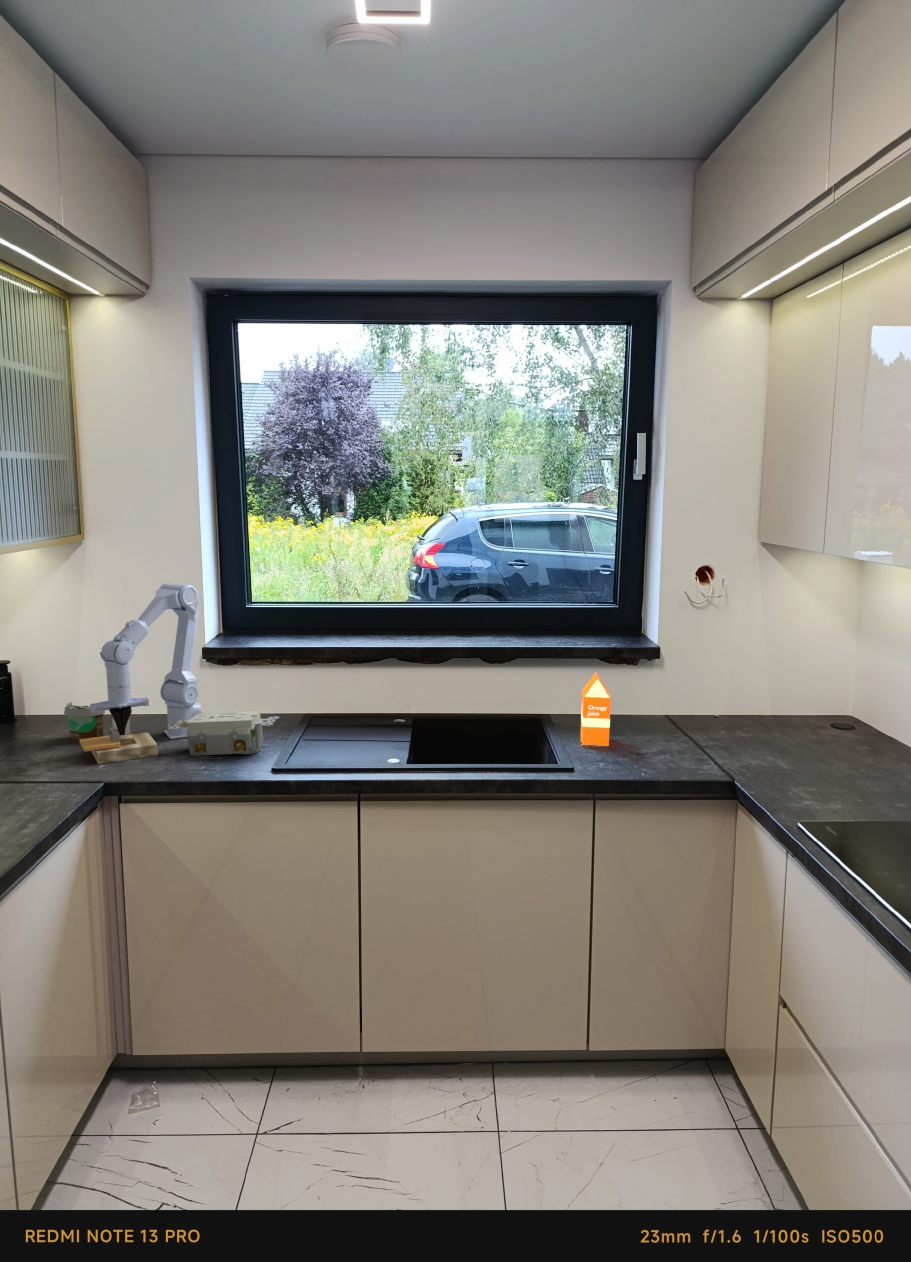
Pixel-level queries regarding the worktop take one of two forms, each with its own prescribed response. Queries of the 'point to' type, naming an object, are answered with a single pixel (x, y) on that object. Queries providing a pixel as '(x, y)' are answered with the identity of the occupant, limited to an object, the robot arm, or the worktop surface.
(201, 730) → the electrical outlet
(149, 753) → the socket block
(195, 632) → the robot arm
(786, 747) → the worktop surface
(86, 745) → the shutter
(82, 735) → the food container
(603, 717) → the orange juice
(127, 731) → the grey upright block
